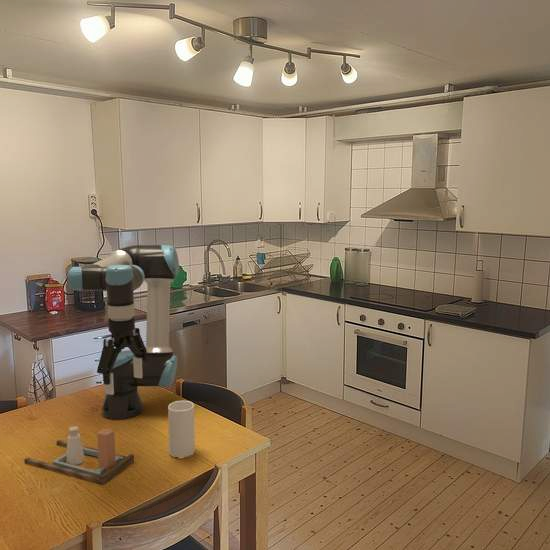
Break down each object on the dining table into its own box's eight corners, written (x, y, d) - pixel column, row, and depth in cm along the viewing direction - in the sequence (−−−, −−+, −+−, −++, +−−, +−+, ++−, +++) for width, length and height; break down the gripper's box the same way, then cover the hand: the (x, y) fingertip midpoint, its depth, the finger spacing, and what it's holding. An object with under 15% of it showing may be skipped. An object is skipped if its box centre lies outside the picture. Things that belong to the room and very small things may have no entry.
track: (134, 461, 159) (133, 454, 159) (103, 484, 146) (102, 477, 146) (59, 443, 171) (59, 436, 170) (24, 462, 158) (24, 455, 158)
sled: (123, 461, 159) (122, 425, 157) (99, 478, 149) (97, 440, 147) (78, 450, 165) (76, 415, 164) (52, 465, 156) (50, 429, 154)
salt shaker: (67, 467, 156) (65, 433, 154) (64, 459, 160) (62, 426, 159) (86, 462, 159) (84, 429, 157) (82, 455, 163) (80, 422, 161)
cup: (170, 446, 169) (169, 400, 167) (195, 445, 170) (194, 400, 167) (167, 459, 161) (166, 411, 159) (194, 458, 162) (193, 410, 159)
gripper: (136, 306, 163) (139, 369, 167) (81, 327, 140) (85, 399, 144) (156, 309, 160) (158, 373, 164) (102, 330, 137) (106, 403, 141)
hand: (124, 385), depth 154 cm, fingers open, 13 cm apart
